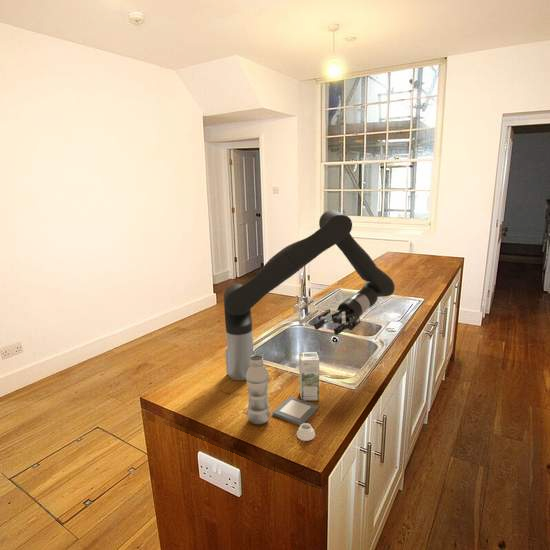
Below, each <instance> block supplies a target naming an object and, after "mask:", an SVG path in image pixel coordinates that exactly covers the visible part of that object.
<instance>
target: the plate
mask: <svg viewBox="0 0 550 550" xmlns="http://www.w3.org/2000/svg"><path fill="white" fill-rule="evenodd" d="M318 409H319V405H318V404H315V403H311V402H309V401H302V400H301V399H299V398H296V397H293V396H289V397H288V398H287V399H285V400H284V401H283V402H282V403H281V404H280V405H279V406H277V408H275V409H274V410H273V411H272V416H273V417H277V418H279V419H281V420H285V421H287V422H289V423H291V424H295V425H297V426H300V425H301V424H304V423H306V422H307V421H308V420H309V419H310V418H311V417H312V416H313V415H314V414H315V413H316V412H317V410H318Z"/></svg>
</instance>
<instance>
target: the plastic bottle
mask: <svg viewBox="0 0 550 550" xmlns="http://www.w3.org/2000/svg"><path fill="white" fill-rule="evenodd" d="M253 355H254V356H251V357H250V365H251V366H250V368H249V369H248V371H247V373H246V380H245V381H246V385H247V389H248V390H247V391H248V405H247V412H246V413H247V419H248V420H249V422H250V423H251V424H254V425H263V424H265V423H267V422H268V420H269V419H270V416H271V409H270V404H269V399H268V398H269V397H268V389H269V380H270V379H269V378H270V374H269V371H268V369H267V368H266V367H265V366H264V364H265V363H264V357H263V356H262V355H259V354H256V355H255V354H253Z"/></svg>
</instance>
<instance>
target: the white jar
mask: <svg viewBox="0 0 550 550" xmlns="http://www.w3.org/2000/svg"><path fill="white" fill-rule="evenodd" d="M296 437H297V438H298V439H299V440H300V441H304V442H305V441H306V442H307V441H308V442H309V441H311V440H314V438H316V432H315V430H314V429H313V427H312V425H311V424H310V423H306V422H305V423H304V424H301V425H299V427H298V429H297V430H296Z"/></svg>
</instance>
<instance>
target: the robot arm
mask: <svg viewBox="0 0 550 550" xmlns="http://www.w3.org/2000/svg"><path fill="white" fill-rule="evenodd" d="M318 223H319V229H318V230H316V231H315V232H313V233H312V234H311V235H309V236H307V237H305V238H303V239H301V240H298V241H295V242H293V243H291V244H288V245H286V246H285V247H283V248H282V249H281V250H280V251H278V252H277V253H276V254H274V255H273V256H272V257H270V259H268V261H267V262H266V263H265V264H264V265H263V266H262V267H261V269H260V270H259V271H258V273H256V274H255V276H254V277H253V278H251V279H250V280H248V281H247V282H245V283H244V284H241V283H234V284H231V285H230V286H228V287H227V288H226V289H225V291H224V294H223V307H224V323H225V334H226V335H225V336H226V350H225V351H224V352H225V354H224V355H225V367H226V375H227V376H229V379H231V380H234V381H247V380H246V373H247V371H248V369H249V368H250V366H251V365H250V357H251V356H254V355H255V354H254V338H253V336H254V335H253V321H252V312H251V311H252V308H253V307H254V306H255V305H256V304H257V303H258V302H259V301H260V300H262V299H263V298H264V297H265V296H267V294H269V293H270V292H271V291H273V290H274V289H276V288H277V287H279V286H280V285H281V284H283V283H284V282H286V281H287V280H288V279H290V278H291V277H293V276H294V275H295V274H297V273H298V272H299V271H300V270H301V269H303V268H304V267H305V266H307V265H308V264H309V263H310V262H312V261H313V260H315V259H316V258H317V257H318V256H320V255H321V254H323V253H324V252H326V251H327V250H328V249H331V248H332V247H334V246H337V248H338V250H340V251H341V252H342V254H343V255H344V256H345V258H346V259H347V261H348V262H349V264H350V265H351V266H352V268H353V269H354V271H356V273H357V274H358V275H359V277H360V278H361V279H362V281H365V283H364V285H363V286H362V287H361V289H360V290H359V291H357V292H355V293H354V294H352V295H351V296H350V297H347V298H346V299H345V300H344V301H342V302H341V303H340V304H339V305H338V307H337V309H336V310H333V311H331V309H330V308H328V309H326V310H324V311H323V312H321V313H320V314H318V315H317V319H318V320H317V321H316V322H314V324H313V326H314V327H313V328H314V329H315V330H316V331H318V330H320V328H322V327H323V326H325V325H328V324H329V325H332V324H337V326H335V327H334V328H333V334H334V335H335V336H337V335H339V334H341V333H342V332H343V331H347V330H349V331H352V330H353V329H355V328H356V327H357V326H359V324H360V323H361V318H360V317H362V316H363V315H364V314H365V313H366V312H367V311H369V309H370V308H372V306H374V305H375V304H376V302H377V301H378V298H379V297H380V298H381V297H383V298H384V297H390V296H392V295H393V294H394V293H395V287H396V286H395V283H394V281H393V279H392V278H391V277H390V276H389V275H388V274H386V273H385V272H384V271H383V270H382V269H380V268H379V267H378V266H377V264H376V263H375V262H374V261H373V259H372V258H371V256H370V255H369V254H368V253H367V252H366V250H365V249H364V248H363V247H362V246H361V245H360V244H359V243H358V242H357V241H356V240H355V239H354V237H353V236H352V234H351V232H352V229H353V222H352V219H351V218H350V217H349V216H348V215H346V214H345V213H342V212H340V211H337V210H335V209H334V210H327V211H325V212H324V213H322V214H321V216H320V218H319V220H318ZM330 318H331V319H330Z"/></svg>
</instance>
